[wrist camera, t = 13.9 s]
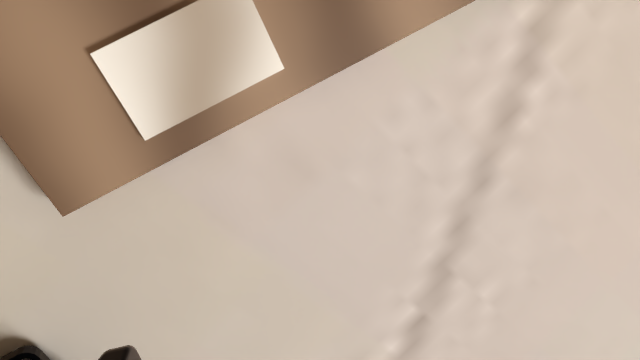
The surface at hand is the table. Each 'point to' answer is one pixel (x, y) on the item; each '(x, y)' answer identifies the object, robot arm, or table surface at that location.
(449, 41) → the table surface
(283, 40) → the tag board
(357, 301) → the table surface
